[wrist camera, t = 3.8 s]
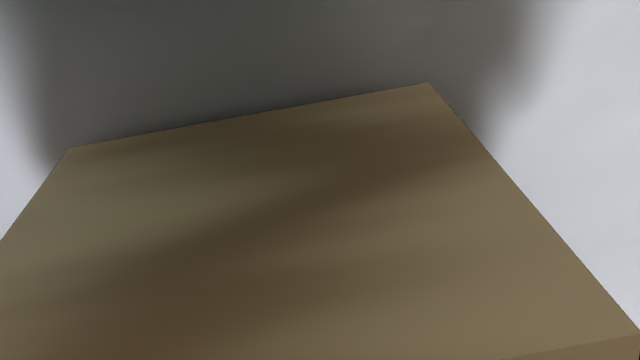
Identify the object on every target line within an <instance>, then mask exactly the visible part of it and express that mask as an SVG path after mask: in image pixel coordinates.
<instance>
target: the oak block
mask: <svg viewBox="0 0 640 360" xmlns="http://www.w3.org/2000/svg"><path fill="white" fill-rule="evenodd" d="M639 354H640V330H639V329H638V328H637V326H636V325H635V324H634V323H633V322H632V320H631V319H630V318H629V317H628V316H627V315H626V313H625V312H624V311H623V310H622V309H621V308H620V306H619V305H618V304H617V303H616V302H615V300H614V299H613V298H612V297H611V296H610V295H609V293H608V292H607V291H606V290H605V289H604V288H603V286H602V285H601V284H600V283H599V282H598V280H597V279H596V278H595V277H594V276H593V275H592V273H591V272H590V271H589V270H588V269H587V268H586V266H585V265H584V264H583V263H582V262H581V260H580V259H579V258H578V257H577V256H576V255H575V253H574V252H573V251H572V250H571V249H570V248H569V246H568V245H567V244H566V243H565V242H564V240H563V239H562V238H561V237H560V236H559V235H558V233H557V232H556V231H555V230H554V229H553V228H552V226H551V225H550V224H549V223H548V222H547V220H546V219H545V218H544V217H543V216H542V215H541V213H540V212H539V211H538V210H537V209H536V208H535V206H534V205H533V204H532V203H531V202H530V200H529V199H528V198H527V197H526V196H525V195H524V193H523V192H522V191H521V190H520V189H519V188H518V186H517V185H516V184H515V183H514V182H513V180H512V179H511V178H510V177H509V176H508V175H507V173H506V172H505V171H504V170H503V169H502V168H501V166H500V165H499V164H498V163H497V162H496V160H495V159H494V158H493V157H492V156H491V155H490V153H489V152H488V151H487V150H486V149H485V148H484V146H483V145H482V144H481V143H480V142H479V140H478V139H477V138H476V137H475V136H474V135H473V133H472V132H471V131H470V130H469V129H468V128H467V126H466V125H465V124H464V123H463V122H462V120H461V119H460V118H459V117H458V116H457V115H456V113H455V112H454V111H453V110H452V109H451V108H450V106H449V105H448V104H447V103H446V102H445V100H444V99H443V98H442V97H441V96H440V95H439V93H438V92H437V91H436V90H435V89H434V88H433V86H432V85H431V84H430V83H429V82H426V83H421V84H415V85H410V86H404V87H399V88H393V89H388V90H382V91H377V92H371V93H366V94H360V95H355V96H349V97H344V98H338V99H333V100H327V101H322V102H316V103H311V104H305V105H300V106H294V107H289V108H283V109H278V110H273V111H267V112H262V113H256V114H251V115H245V116H240V117H234V118H229V119H223V120H218V121H212V122H207V123H201V124H196V125H190V126H185V127H179V128H174V129H168V130H163V131H157V132H152V133H146V134H141V135H135V136H130V137H124V138H119V139H113V140H108V141H102V142H97V143H91V144H86V145H80V146H75V147H69V149H68V150H67V151H66V153H65V154H64V155H63V157H62V158H61V159H60V161H59V162H58V164H57V165H56V166H55V168H54V169H53V170H52V172H51V173H50V174H49V176H48V177H47V178H46V180H45V181H44V182H43V184H42V185H41V187H40V188H39V189H38V191H37V192H36V193H35V195H34V196H33V197H32V199H31V200H30V201H29V203H28V204H27V205H26V207H25V208H24V210H23V211H22V212H21V214H20V215H19V216H18V218H17V219H16V220H15V222H14V223H13V224H12V226H11V227H10V228H9V230H8V231H7V233H6V234H5V235H4V237H3V238H2V239H1V241H0V360H639Z"/></svg>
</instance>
